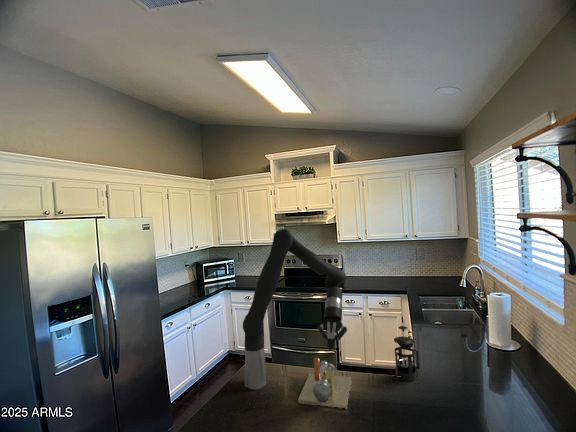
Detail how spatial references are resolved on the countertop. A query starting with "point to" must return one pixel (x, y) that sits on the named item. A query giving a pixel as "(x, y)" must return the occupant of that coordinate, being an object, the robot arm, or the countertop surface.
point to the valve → (326, 389)
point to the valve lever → (319, 369)
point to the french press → (406, 364)
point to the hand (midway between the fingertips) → (330, 349)
